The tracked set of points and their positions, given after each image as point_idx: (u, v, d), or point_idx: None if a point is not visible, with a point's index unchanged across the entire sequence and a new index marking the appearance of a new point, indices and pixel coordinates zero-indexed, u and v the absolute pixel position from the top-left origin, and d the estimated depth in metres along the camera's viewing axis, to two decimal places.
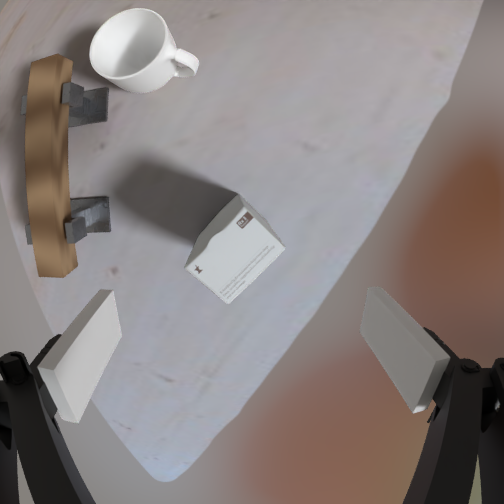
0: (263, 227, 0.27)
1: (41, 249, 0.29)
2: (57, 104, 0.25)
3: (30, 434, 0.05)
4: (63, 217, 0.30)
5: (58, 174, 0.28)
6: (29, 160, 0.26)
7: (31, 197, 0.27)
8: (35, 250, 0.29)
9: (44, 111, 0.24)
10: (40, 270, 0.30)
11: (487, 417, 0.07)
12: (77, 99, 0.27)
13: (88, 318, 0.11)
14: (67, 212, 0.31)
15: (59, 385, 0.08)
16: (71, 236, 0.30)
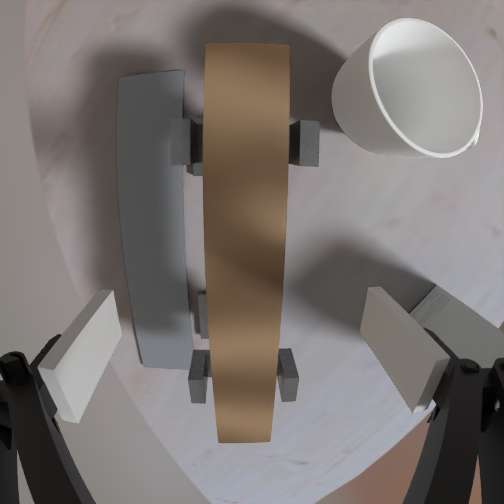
0: None
1: (234, 416, 0.19)
2: None
3: (30, 434, 0.05)
4: None
5: None
6: (219, 283, 0.16)
7: (222, 349, 0.17)
8: (219, 417, 0.19)
9: (266, 179, 0.14)
10: (224, 437, 0.20)
11: (487, 417, 0.07)
12: None
13: (88, 318, 0.11)
14: None
15: (59, 385, 0.08)
16: (292, 393, 0.20)
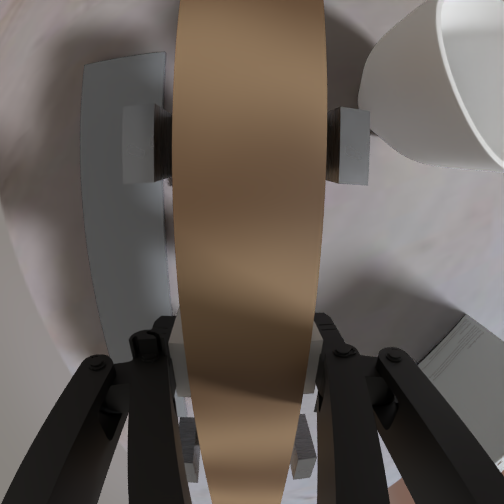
0: None
1: (234, 499, 0.13)
2: None
3: (148, 414, 0.07)
4: None
5: None
6: (208, 371, 0.09)
7: (217, 443, 0.11)
8: (216, 499, 0.13)
9: (287, 210, 0.08)
10: None
11: (386, 411, 0.09)
12: None
13: None
14: None
15: None
16: (307, 471, 0.13)
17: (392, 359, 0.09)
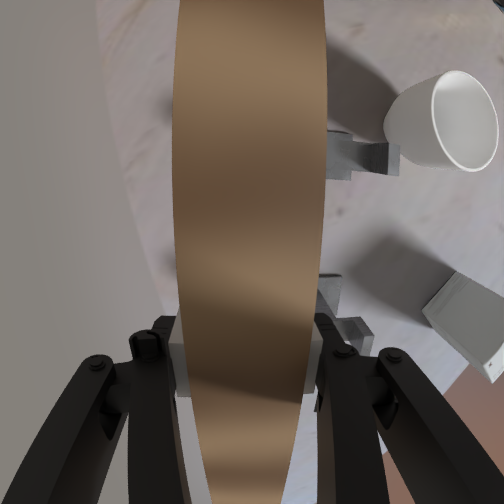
0: None
1: (234, 499, 0.13)
2: None
3: (148, 414, 0.07)
4: None
5: None
6: (209, 372, 0.09)
7: (217, 444, 0.11)
8: (216, 500, 0.13)
9: (287, 211, 0.08)
10: None
11: (386, 411, 0.09)
12: None
13: None
14: None
15: None
16: (368, 350, 0.25)
17: (392, 359, 0.09)
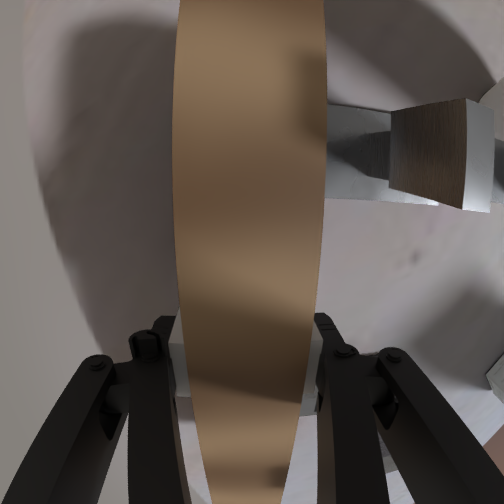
0: None
1: (234, 499, 0.13)
2: None
3: (148, 414, 0.07)
4: None
5: None
6: (209, 372, 0.09)
7: (217, 444, 0.11)
8: (216, 499, 0.13)
9: (287, 211, 0.08)
10: None
11: (386, 411, 0.09)
12: None
13: None
14: None
15: None
16: None
17: (392, 359, 0.09)
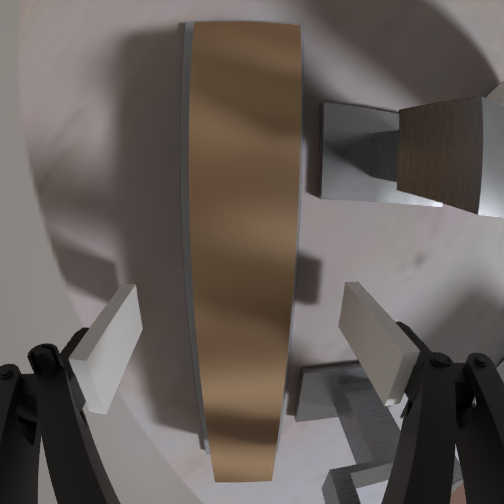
0: None
1: (232, 459, 0.16)
2: None
3: (57, 427, 0.06)
4: None
5: None
6: (212, 324, 0.12)
7: (217, 395, 0.14)
8: (215, 460, 0.16)
9: (271, 196, 0.11)
10: (221, 477, 0.16)
11: (464, 413, 0.08)
12: None
13: (115, 311, 0.12)
14: None
15: (90, 376, 0.09)
16: (451, 491, 0.10)
17: (478, 363, 0.08)
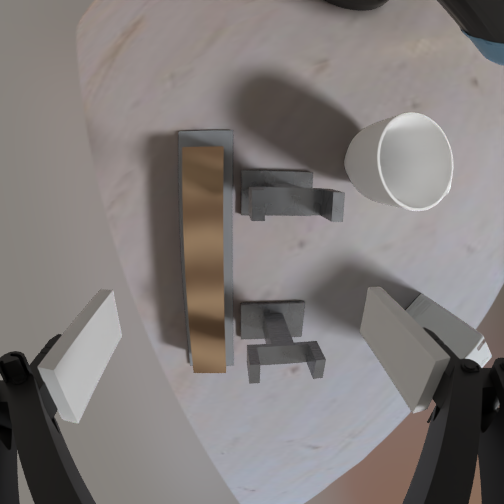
0: (487, 346, 0.26)
1: (202, 350, 0.34)
2: None
3: (30, 434, 0.05)
4: (224, 318, 0.35)
5: None
6: (191, 267, 0.31)
7: (194, 304, 0.32)
8: (193, 351, 0.34)
9: (212, 216, 0.30)
10: (197, 367, 0.35)
11: (487, 417, 0.07)
12: None
13: (88, 318, 0.11)
14: (224, 312, 0.36)
15: (59, 385, 0.08)
16: (320, 371, 0.28)
17: None
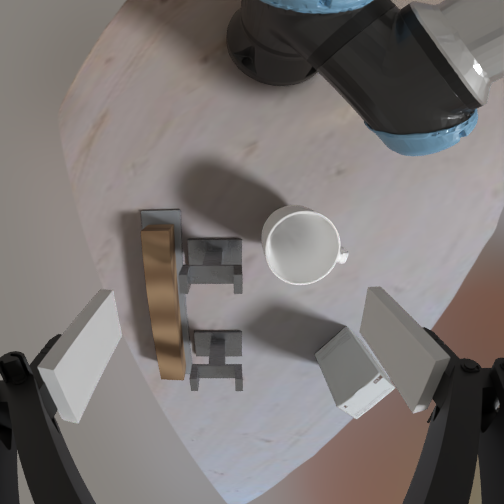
0: (386, 380, 0.38)
1: (165, 364, 0.46)
2: (172, 270, 0.43)
3: (30, 434, 0.05)
4: (181, 342, 0.48)
5: (177, 317, 0.46)
6: (153, 310, 0.43)
7: (157, 334, 0.45)
8: (160, 364, 0.46)
9: (164, 278, 0.42)
10: (163, 375, 0.47)
11: (487, 417, 0.07)
12: None
13: (88, 318, 0.11)
14: (181, 337, 0.48)
15: (59, 385, 0.08)
16: (240, 386, 0.41)
17: None
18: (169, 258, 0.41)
